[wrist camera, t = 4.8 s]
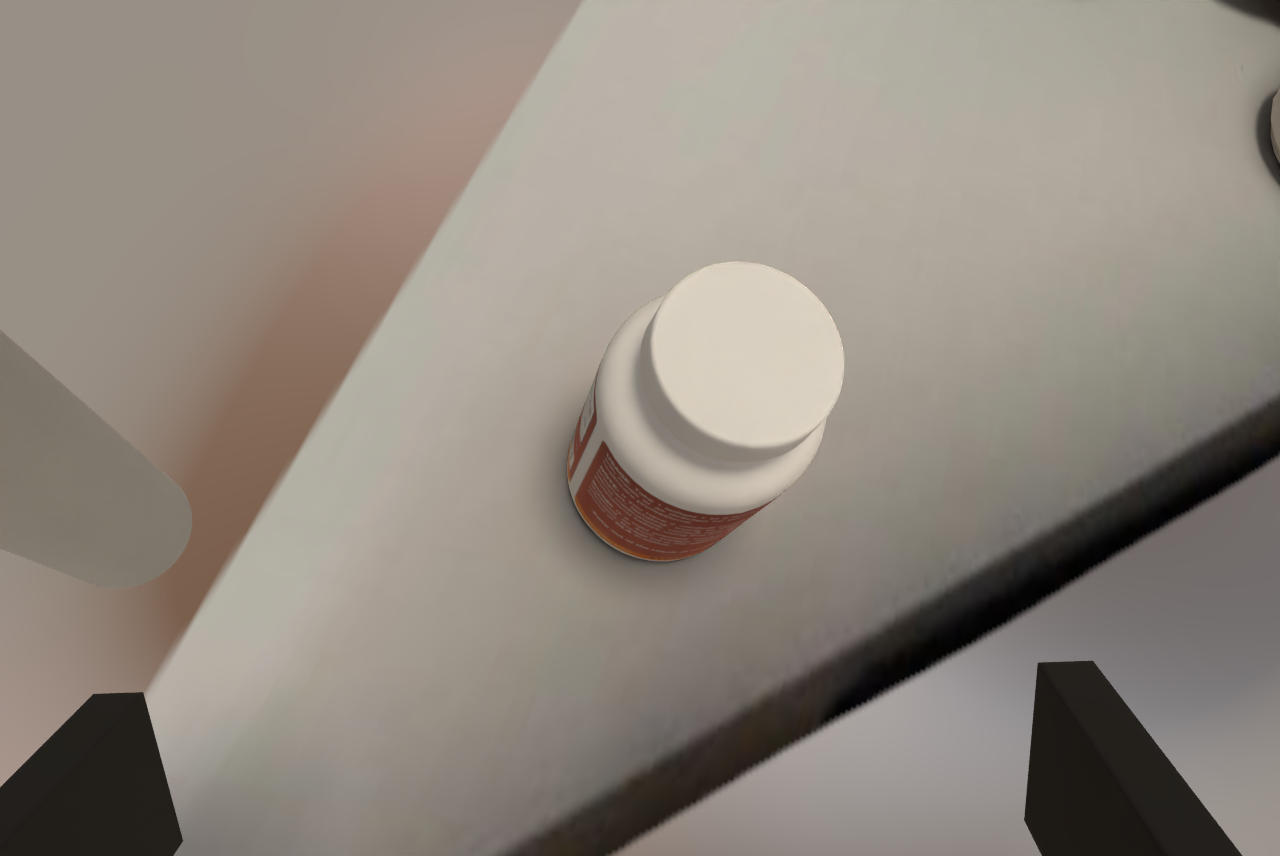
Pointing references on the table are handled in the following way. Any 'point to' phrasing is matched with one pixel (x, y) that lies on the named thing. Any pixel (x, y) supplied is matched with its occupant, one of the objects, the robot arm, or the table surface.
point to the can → (1276, 125)
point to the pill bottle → (704, 410)
